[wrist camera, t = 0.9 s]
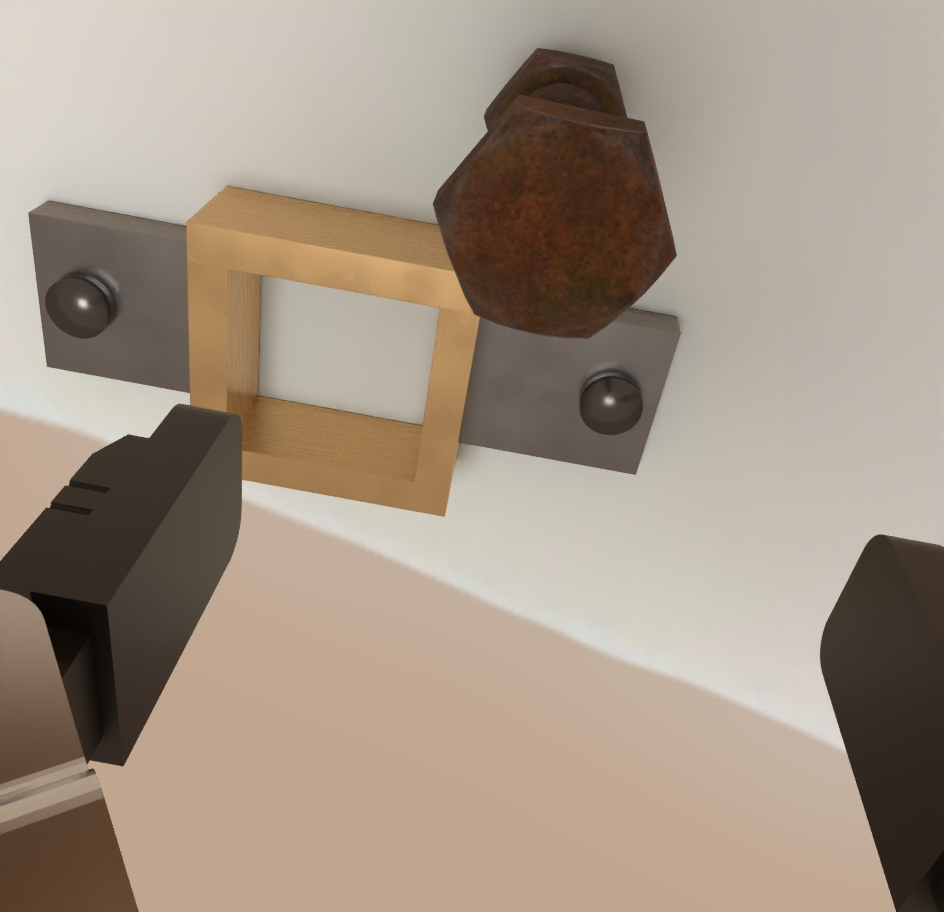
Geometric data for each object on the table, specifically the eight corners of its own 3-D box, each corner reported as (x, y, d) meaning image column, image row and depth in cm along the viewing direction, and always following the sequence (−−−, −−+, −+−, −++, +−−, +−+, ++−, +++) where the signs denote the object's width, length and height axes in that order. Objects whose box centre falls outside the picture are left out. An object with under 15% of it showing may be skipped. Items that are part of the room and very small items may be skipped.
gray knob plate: (676, 317, 37) (682, 341, 35) (633, 455, 41) (636, 485, 39) (463, 277, 37) (457, 300, 35) (441, 420, 41) (434, 447, 39)
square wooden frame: (495, 236, 36) (486, 277, 32) (456, 459, 42) (444, 516, 38) (226, 186, 36) (186, 222, 32) (225, 417, 42) (191, 470, 38)
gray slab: (238, 235, 37) (219, 256, 35) (236, 382, 41) (219, 408, 39) (47, 200, 37) (17, 219, 35) (64, 350, 41) (37, 375, 39)
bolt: (647, 155, 34) (692, 317, 21) (519, 196, 35) (491, 372, 22) (607, -8, 31) (632, 68, 18) (470, 43, 32) (406, 146, 20)
